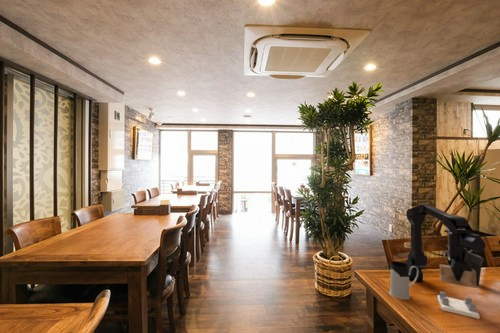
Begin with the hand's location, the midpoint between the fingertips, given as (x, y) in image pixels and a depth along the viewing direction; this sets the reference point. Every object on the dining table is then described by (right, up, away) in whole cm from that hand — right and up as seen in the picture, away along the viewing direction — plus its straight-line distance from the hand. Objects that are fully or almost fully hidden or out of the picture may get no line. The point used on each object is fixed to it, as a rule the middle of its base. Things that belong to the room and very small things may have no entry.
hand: (457, 279), depth 106 cm
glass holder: (-17, -13, +10) cm, 23 cm away
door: (0, -2, 0) cm, 2 cm away
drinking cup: (+28, -13, +22) cm, 37 cm away
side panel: (-1, -12, -1) cm, 12 cm away
